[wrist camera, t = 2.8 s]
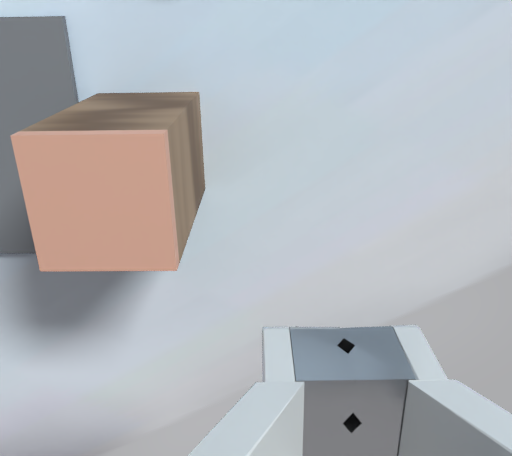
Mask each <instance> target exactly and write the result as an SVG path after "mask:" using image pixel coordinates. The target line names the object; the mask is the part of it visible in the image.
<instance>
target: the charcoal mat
mask: <svg viewBox="0 0 512 456" xmlns="http://www.w3.org/2000/svg"><path fill="white" fill-rule="evenodd" d="M77 103H79V102H78V96H77V90H76V83H75V77H74V71H73V64H72V58H71V52H70V46H69V39H68V33H67V27H66V20H65V16H52V17H0V253H36V250H35V246H34V241H33V237H32V232H31V228H30V223H29V219H28V214H27V209H26V205H25V200H24V196H23V191H22V187H21V182H20V178H19V173H18V168H17V164H16V159H15V155H14V150H13V146H12V141H11V137H10V135H12V134H15V133H17V132H19V131H21V130H23V129H25V128H27V127H29V126H31V125H33V124H35V123H37V122H39V121H42V120H44V119H46V118H48V117H50V116H52V115H54V114H56V113H58V112H60V111H62V110H64V109H66V108H69V107H71V106H73V105H75V104H77Z"/></svg>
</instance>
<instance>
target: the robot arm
mask: <svg viewBox="0 0 512 456" xmlns="http://www.w3.org/2000/svg"><path fill="white" fill-rule="evenodd" d="M262 374H263V382H256V383H255V384H254V385H253V386H252V387H251V388H250V389H249V390H248V391H247V392H246V393H245V394H244V396H243V397H242V398H241V399H240V400H239V401H238V402H237V403H236V404H235V405H234V406H233V407H232V408H231V410H230V411H229V412H228V413H227V414H226V415H225V416H224V417H223V418H222V419H221V421H219V422H218V423H217V425H216V426H215V427H214V428H213V429H212V430H211V431H210V432H209V433H208V434H207V435H206V436H205V437H204V439H203V440H202V441H201V442H200V443H199V444H198V445H197V446H196V447H195V448H194V449H193V450H192V451H191V453H190V454H189V455H188V456H512V413H510V412H508V411H507V410H505V409H504V408H502V407H500V406H499V405H497V404H495V403H494V402H492V401H490V400H489V399H487V398H486V397H484V396H482V395H481V394H479V393H478V392H476V391H474V390H473V389H471V388H469V387H468V386H466V385H465V384H463V383H461V382H460V381H458V380H449V379H448V378H447V376H446V374H445V372H444V370H443V369H442V367H441V365H440V363H439V361H438V359H437V358H436V356H435V354H434V352H433V350H432V349H431V347H430V345H429V343H428V341H427V340H426V338H425V336H424V334H423V332H422V331H421V329H420V327H419V326H417V325H396V326H383V327H350V328H340V327H289V328H288V327H263V329H262Z"/></svg>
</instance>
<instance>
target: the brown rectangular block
mask: <svg viewBox="0 0 512 456" xmlns="http://www.w3.org/2000/svg"><path fill="white" fill-rule="evenodd" d="M10 137H11V141H12V146H13V150H14V155H15V159H16V164H17V168H18V173H19V178H20V182H21V187H22V191H23V196H24V200H25V205H26V209H27V214H28V219H29V223H30V228H31V232H32V237H33V241H34V246H35V250H36V255H37V259H38V264H39V269H40V271H177V268H178V266H179V263H180V260H181V257H182V254H183V251H184V248H185V245H186V243H187V240H188V237H189V234H190V231H191V228H192V225H193V222H194V219H195V217H196V214H197V211H198V208H199V205H200V202H201V199H202V196H203V194H204V191H205V179H204V163H203V146H202V130H201V114H200V98H199V92H165V93H98V94H96V95H93V96H91V97H89V98H87V99H85V100H83V101H81V102H79V103H77V104H75V105H73V106H71V107H69V108H66V109H64V110H62V111H60V112H58V113H56V114H54V115H52V116H50V117H48V118H46V119H44V120H42V121H39V122H37V123H35V124H33V125H31V126H29V127H27V128H25V129H23V130H21V131H19V132H17V133H15V134H12V135H10Z"/></svg>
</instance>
